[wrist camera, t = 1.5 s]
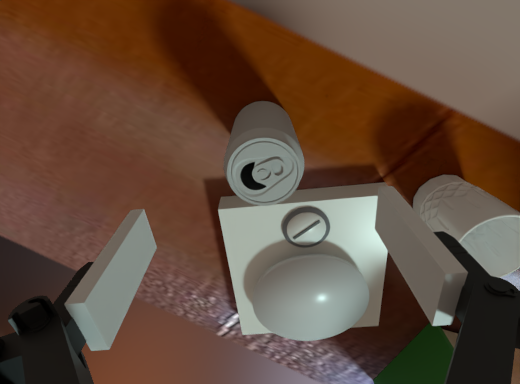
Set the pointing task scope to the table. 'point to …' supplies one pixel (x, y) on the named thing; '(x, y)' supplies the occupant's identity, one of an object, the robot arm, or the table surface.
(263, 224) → the kitchen scale
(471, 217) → the white cup
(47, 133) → the table surface
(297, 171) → the beverage can
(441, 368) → the hardback book
